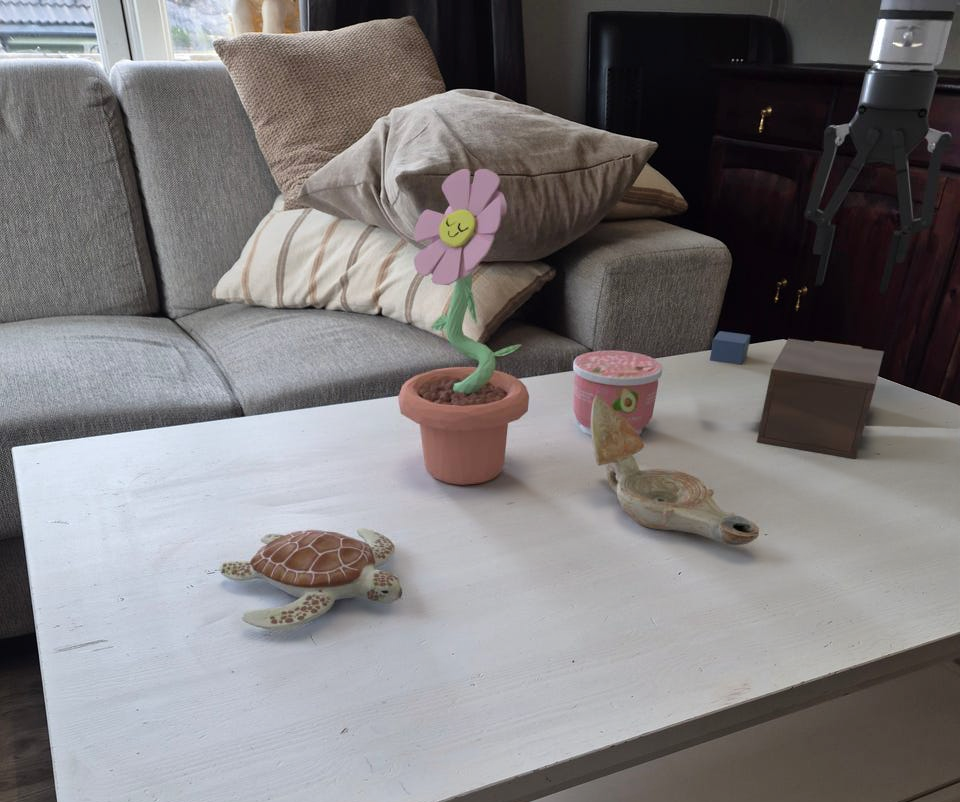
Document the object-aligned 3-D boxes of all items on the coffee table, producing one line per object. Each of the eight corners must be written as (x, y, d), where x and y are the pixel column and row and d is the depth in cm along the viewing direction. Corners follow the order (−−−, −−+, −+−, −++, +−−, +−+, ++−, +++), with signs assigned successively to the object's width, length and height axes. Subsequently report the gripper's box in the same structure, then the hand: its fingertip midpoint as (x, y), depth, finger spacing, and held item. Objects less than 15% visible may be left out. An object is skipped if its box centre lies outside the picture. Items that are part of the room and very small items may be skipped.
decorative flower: (370, 462, 103) (355, 164, 86) (467, 435, 110) (471, 154, 93) (451, 511, 94) (451, 185, 77) (551, 477, 101) (572, 173, 84)
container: (554, 432, 112) (558, 367, 107) (589, 407, 119) (595, 345, 115) (635, 451, 107) (643, 384, 103) (666, 423, 115) (675, 359, 110)
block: (714, 361, 136) (719, 330, 134) (744, 366, 135) (750, 335, 132) (707, 370, 133) (713, 338, 130) (739, 375, 131) (745, 343, 129)
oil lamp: (614, 475, 102) (624, 386, 96) (777, 549, 88) (800, 451, 83) (558, 496, 97) (565, 404, 91) (721, 577, 84) (741, 475, 78)
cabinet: (774, 406, 121) (788, 338, 116) (865, 421, 117) (883, 351, 112) (756, 442, 110) (771, 368, 105) (855, 459, 107) (875, 383, 102)
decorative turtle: (341, 667, 71) (337, 612, 68) (175, 611, 77) (165, 559, 74) (452, 565, 84) (453, 516, 82) (303, 524, 90) (299, 477, 88)
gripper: (805, 64, 101) (764, 283, 114) (1003, 72, 95) (935, 303, 108) (814, 62, 107) (774, 271, 120) (1000, 70, 100) (937, 289, 113)
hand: (850, 286), depth 114 cm, fingers open, 7 cm apart
